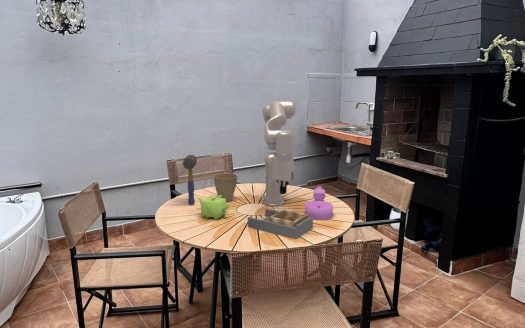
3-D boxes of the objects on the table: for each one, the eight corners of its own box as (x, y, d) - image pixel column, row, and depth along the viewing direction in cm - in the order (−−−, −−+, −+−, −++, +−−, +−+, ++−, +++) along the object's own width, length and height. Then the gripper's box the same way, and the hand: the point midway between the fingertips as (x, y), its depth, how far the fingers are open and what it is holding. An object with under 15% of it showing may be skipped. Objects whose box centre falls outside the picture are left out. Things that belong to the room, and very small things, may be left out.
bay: (247, 226, 191) (247, 215, 190) (266, 217, 205) (266, 207, 204) (295, 238, 176) (296, 226, 175) (312, 228, 190) (312, 216, 189)
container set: (332, 221, 201) (333, 197, 198) (303, 219, 203) (304, 195, 200) (331, 207, 225) (332, 185, 222) (306, 205, 227) (306, 184, 225)
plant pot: (209, 200, 237) (208, 175, 234) (228, 195, 247) (227, 172, 244) (223, 205, 227) (222, 179, 223) (242, 200, 236) (242, 176, 233)
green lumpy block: (197, 214, 210) (196, 195, 208) (221, 211, 216) (220, 192, 214) (205, 222, 197) (205, 202, 195) (230, 218, 203) (230, 198, 201)
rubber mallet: (186, 201, 235) (184, 153, 229) (198, 201, 235) (197, 153, 229) (183, 207, 223) (181, 157, 217) (196, 207, 223) (194, 157, 217)
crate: (269, 228, 186) (269, 217, 185) (283, 220, 197) (283, 209, 196) (293, 234, 178) (294, 222, 177) (307, 225, 189) (307, 214, 188)
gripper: (266, 156, 184) (266, 193, 187) (293, 159, 176) (292, 197, 179) (274, 154, 190) (274, 190, 193) (300, 157, 182) (300, 194, 185)
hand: (283, 193), depth 186 cm, fingers closed
